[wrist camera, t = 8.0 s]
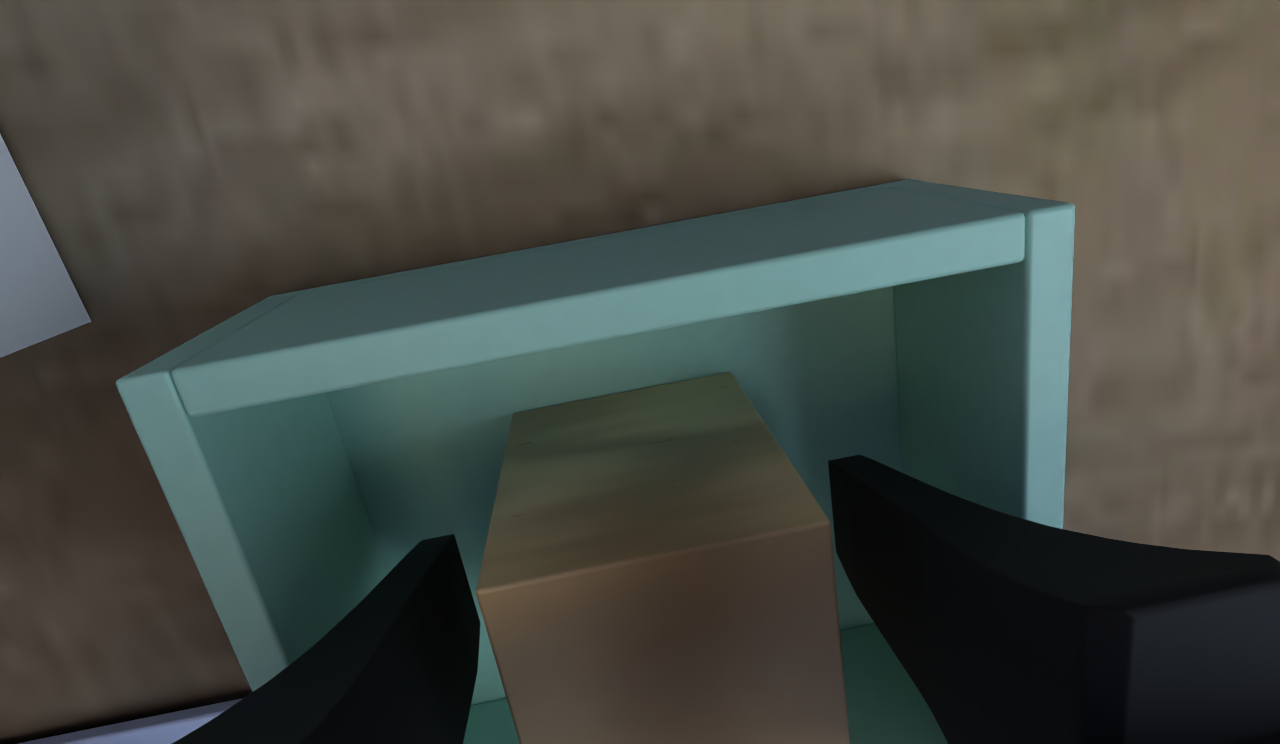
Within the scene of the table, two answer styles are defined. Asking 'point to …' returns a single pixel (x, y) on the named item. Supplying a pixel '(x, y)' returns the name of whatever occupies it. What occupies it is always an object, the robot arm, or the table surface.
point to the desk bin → (608, 364)
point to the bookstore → (30, 270)
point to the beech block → (661, 576)
